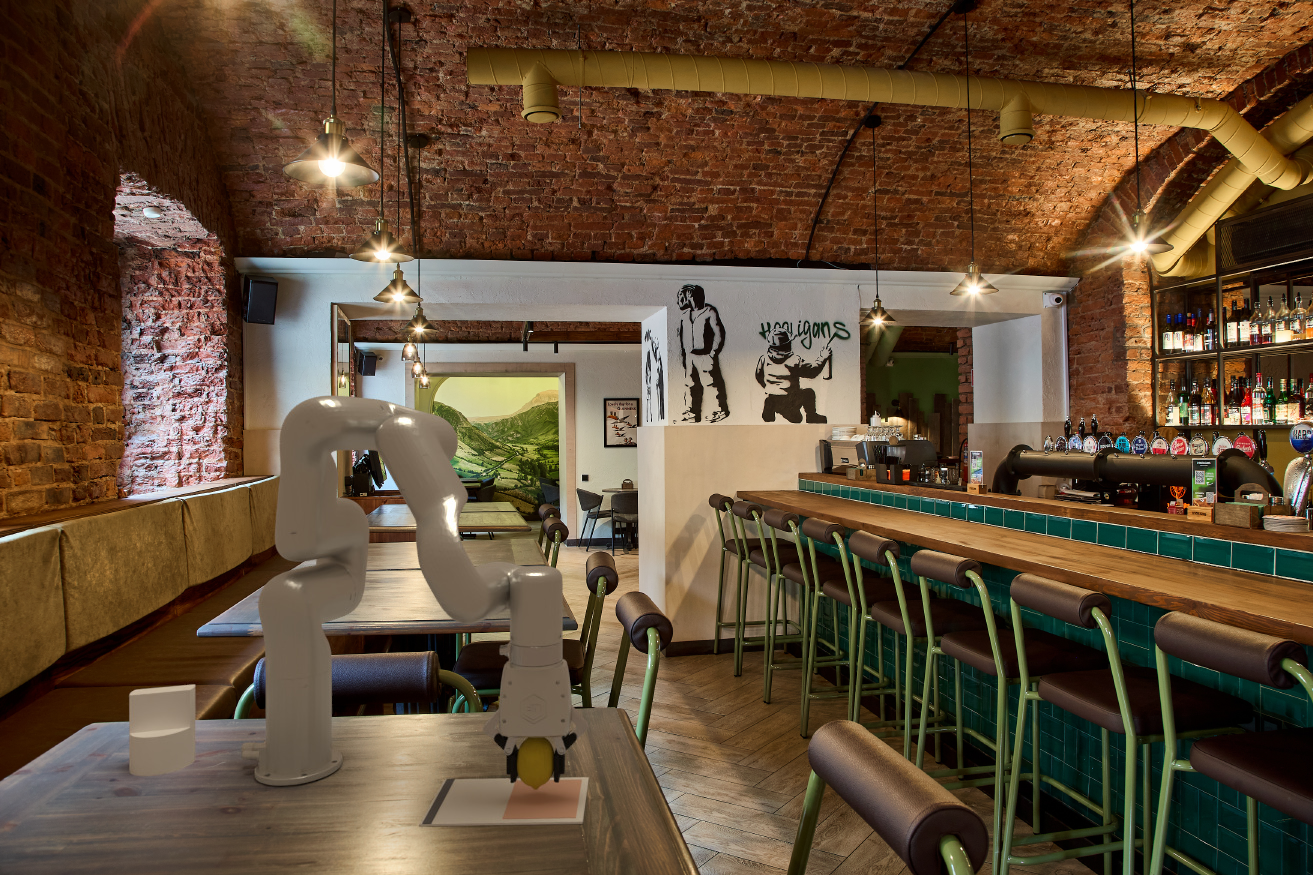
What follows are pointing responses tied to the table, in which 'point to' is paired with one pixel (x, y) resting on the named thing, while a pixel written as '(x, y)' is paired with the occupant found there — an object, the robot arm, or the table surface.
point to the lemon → (535, 761)
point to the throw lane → (507, 802)
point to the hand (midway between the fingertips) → (535, 777)
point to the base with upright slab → (161, 729)
